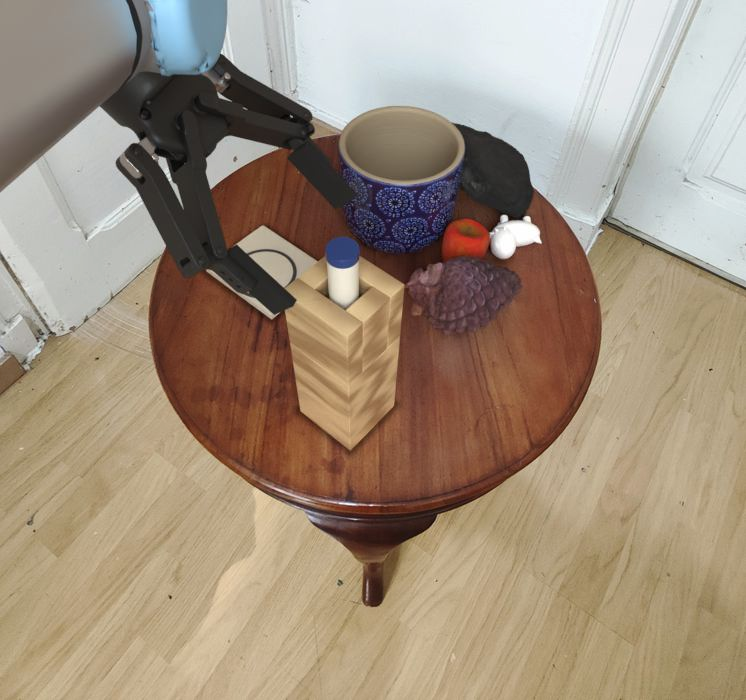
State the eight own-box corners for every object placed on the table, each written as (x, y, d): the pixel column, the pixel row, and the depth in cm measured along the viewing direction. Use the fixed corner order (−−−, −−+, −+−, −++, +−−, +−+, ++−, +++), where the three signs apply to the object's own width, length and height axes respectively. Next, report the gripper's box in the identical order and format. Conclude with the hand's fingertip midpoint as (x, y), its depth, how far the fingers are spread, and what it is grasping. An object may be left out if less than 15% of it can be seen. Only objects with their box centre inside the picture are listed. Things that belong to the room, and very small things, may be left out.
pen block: (350, 451, 73) (347, 336, 55) (300, 411, 76) (281, 290, 58) (394, 405, 76) (405, 284, 58) (344, 369, 79) (340, 243, 61)
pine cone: (492, 263, 90) (538, 240, 81) (506, 331, 89) (554, 316, 80) (381, 271, 82) (418, 247, 73) (395, 346, 81) (434, 331, 72)
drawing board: (271, 319, 84) (270, 314, 83) (206, 271, 88) (204, 265, 87) (328, 273, 89) (328, 267, 88) (263, 229, 93) (262, 224, 92)
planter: (473, 248, 92) (490, 163, 79) (368, 283, 87) (370, 199, 75) (420, 178, 100) (429, 93, 88) (323, 207, 96) (318, 121, 84)
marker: (346, 355, 63) (343, 266, 53) (325, 340, 64) (318, 249, 54) (365, 338, 65) (366, 247, 54) (344, 323, 66) (341, 231, 55)
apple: (432, 254, 91) (446, 209, 85) (474, 261, 91) (490, 216, 86) (435, 281, 86) (450, 235, 81) (479, 288, 87) (496, 243, 82)
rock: (520, 244, 92) (553, 209, 88) (442, 212, 86) (473, 173, 82) (495, 179, 102) (523, 145, 97) (423, 146, 96) (450, 108, 91)
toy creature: (488, 209, 89) (492, 246, 86) (544, 212, 90) (549, 249, 87) (481, 229, 93) (484, 265, 90) (534, 232, 94) (539, 268, 91)
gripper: (180, 3, 56) (343, 180, 65) (-13, 177, 42) (229, 369, 51) (223, -53, 50) (394, 149, 60) (19, 125, 37) (282, 351, 46)
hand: (318, 251), depth 56 cm, fingers open, 13 cm apart
